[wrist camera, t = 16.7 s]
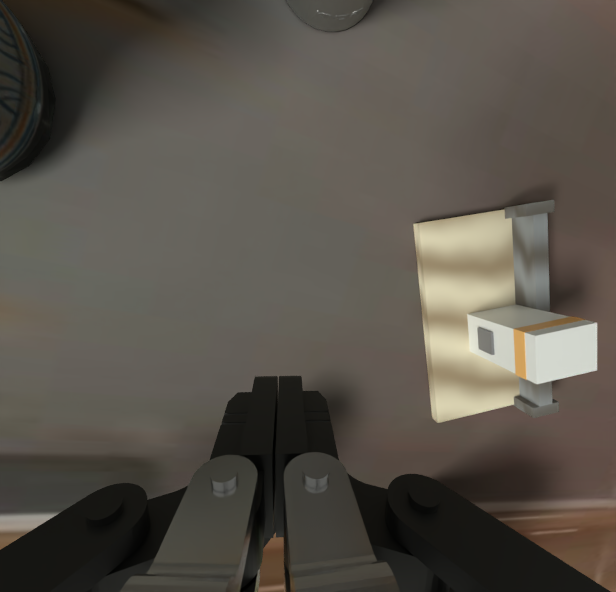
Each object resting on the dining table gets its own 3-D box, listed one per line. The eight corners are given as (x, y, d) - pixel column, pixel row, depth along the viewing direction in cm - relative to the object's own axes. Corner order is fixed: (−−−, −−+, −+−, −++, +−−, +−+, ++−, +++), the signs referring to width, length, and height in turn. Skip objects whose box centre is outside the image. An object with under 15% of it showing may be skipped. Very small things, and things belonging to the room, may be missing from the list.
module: (464, 314, 36) (532, 336, 27) (515, 303, 36) (597, 321, 28) (467, 352, 36) (533, 385, 28) (517, 341, 37) (597, 370, 28)
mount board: (413, 222, 34) (432, 218, 30) (529, 203, 36) (562, 198, 32) (432, 419, 38) (452, 438, 34) (535, 394, 40) (565, 410, 36)
